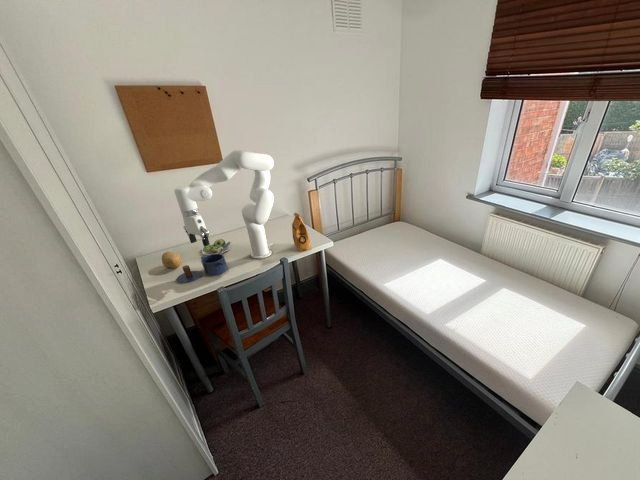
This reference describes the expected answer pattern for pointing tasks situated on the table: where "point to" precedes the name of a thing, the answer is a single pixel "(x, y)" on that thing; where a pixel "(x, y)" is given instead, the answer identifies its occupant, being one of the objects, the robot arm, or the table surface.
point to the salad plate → (216, 247)
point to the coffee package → (300, 234)
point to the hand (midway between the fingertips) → (200, 243)
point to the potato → (171, 259)
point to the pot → (214, 264)
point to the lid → (188, 275)
